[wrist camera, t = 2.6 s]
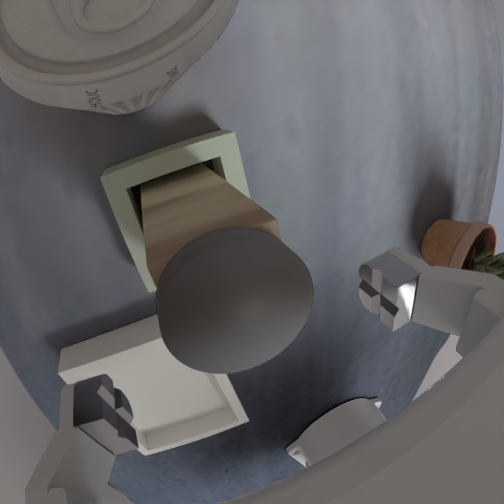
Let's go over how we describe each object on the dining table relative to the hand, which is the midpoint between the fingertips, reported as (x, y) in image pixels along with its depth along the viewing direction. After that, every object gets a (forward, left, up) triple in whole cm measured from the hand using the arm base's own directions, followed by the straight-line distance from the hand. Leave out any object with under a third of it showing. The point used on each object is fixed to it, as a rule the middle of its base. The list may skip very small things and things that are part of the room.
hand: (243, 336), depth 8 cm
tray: (-16, +8, -14) cm, 23 cm away
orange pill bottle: (+10, +1, -15) cm, 18 cm away
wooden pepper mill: (0, 0, -14) cm, 14 cm away
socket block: (0, 0, -14) cm, 14 cm away
